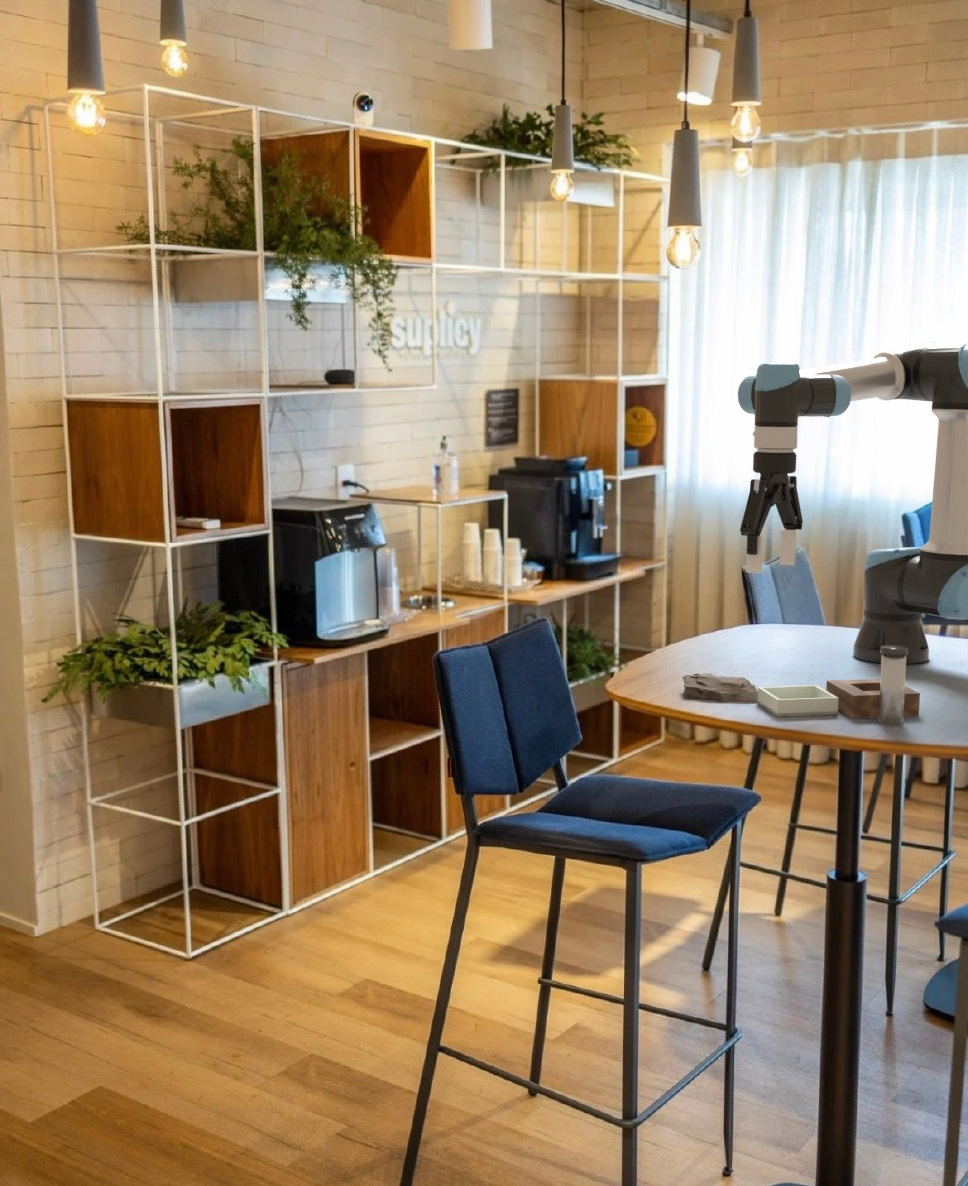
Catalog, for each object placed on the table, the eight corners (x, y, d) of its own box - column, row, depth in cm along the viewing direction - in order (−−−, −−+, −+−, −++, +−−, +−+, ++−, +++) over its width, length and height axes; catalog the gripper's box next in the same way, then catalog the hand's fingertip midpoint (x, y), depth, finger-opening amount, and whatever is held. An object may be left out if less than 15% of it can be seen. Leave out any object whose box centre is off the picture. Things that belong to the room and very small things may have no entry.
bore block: (888, 699, 250) (889, 678, 249) (918, 715, 238) (920, 693, 237) (825, 702, 248) (826, 680, 247) (853, 718, 236) (854, 695, 235)
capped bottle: (897, 719, 235) (900, 645, 233) (908, 725, 231) (912, 650, 229) (873, 720, 235) (876, 645, 233) (884, 726, 230) (887, 650, 228)
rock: (684, 702, 249) (684, 681, 248) (681, 691, 258) (682, 670, 257) (760, 704, 248) (761, 683, 247) (755, 693, 257) (756, 672, 256)
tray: (815, 701, 249) (816, 685, 248) (837, 714, 239) (838, 697, 238) (757, 703, 247) (757, 687, 247) (777, 717, 237) (777, 700, 237)
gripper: (786, 447, 257) (782, 560, 260) (722, 452, 237) (719, 574, 240) (824, 448, 252) (819, 563, 255) (762, 454, 233) (758, 578, 236)
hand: (770, 569), depth 248 cm, fingers open, 13 cm apart
